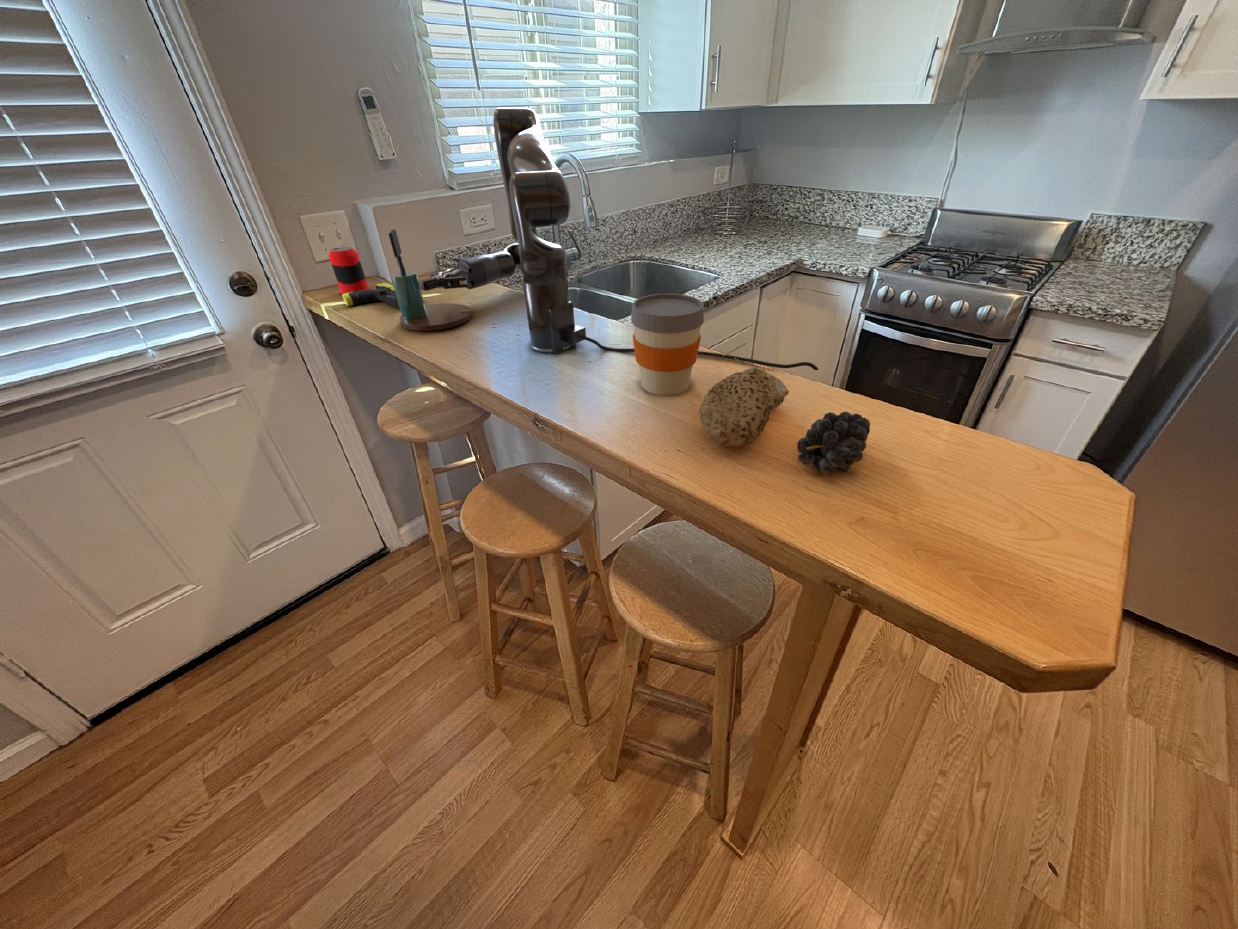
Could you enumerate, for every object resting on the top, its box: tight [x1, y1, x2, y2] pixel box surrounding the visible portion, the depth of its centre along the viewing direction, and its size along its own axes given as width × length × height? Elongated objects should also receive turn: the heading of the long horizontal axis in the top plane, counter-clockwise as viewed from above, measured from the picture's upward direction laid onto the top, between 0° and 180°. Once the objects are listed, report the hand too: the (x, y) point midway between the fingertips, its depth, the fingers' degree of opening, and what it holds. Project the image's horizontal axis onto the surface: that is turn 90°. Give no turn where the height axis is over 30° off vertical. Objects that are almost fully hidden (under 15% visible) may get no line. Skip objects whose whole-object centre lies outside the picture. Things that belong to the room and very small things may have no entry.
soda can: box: [328, 246, 370, 295], centre depth 142 cm, size 8×8×12 cm
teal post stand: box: [388, 229, 472, 332], centre depth 117 cm, size 17×17×20 cm
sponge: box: [698, 367, 789, 448], centre depth 78 cm, size 13×8×20 cm
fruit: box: [796, 411, 871, 476], centre depth 69 cm, size 9×8×15 cm
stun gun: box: [341, 282, 400, 309], centre depth 135 cm, size 3×19×15 cm
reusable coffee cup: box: [630, 293, 704, 396], centre depth 87 cm, size 13×13×15 cm
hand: (422, 286), depth 121 cm, fingers closed
